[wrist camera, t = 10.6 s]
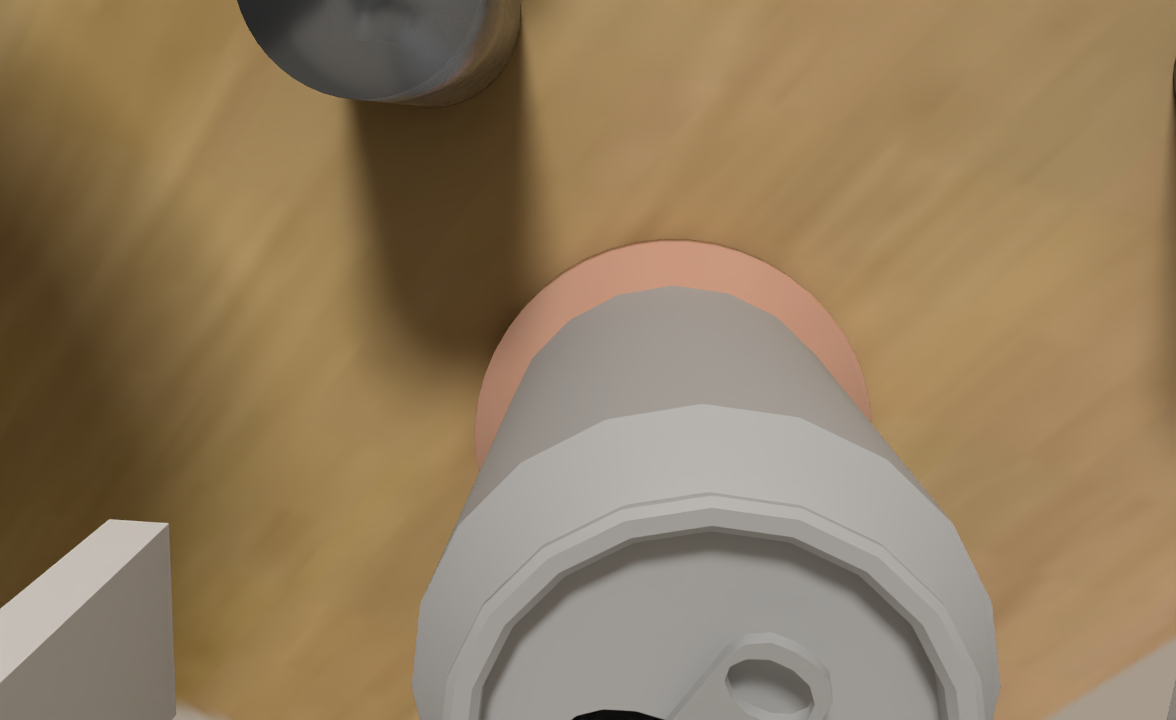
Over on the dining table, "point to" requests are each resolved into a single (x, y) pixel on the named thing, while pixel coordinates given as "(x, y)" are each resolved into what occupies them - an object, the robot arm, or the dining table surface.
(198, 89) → the dining table surface
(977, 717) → the can
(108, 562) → the robot arm
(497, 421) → the pink flat disc
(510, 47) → the chrome peg cluster
